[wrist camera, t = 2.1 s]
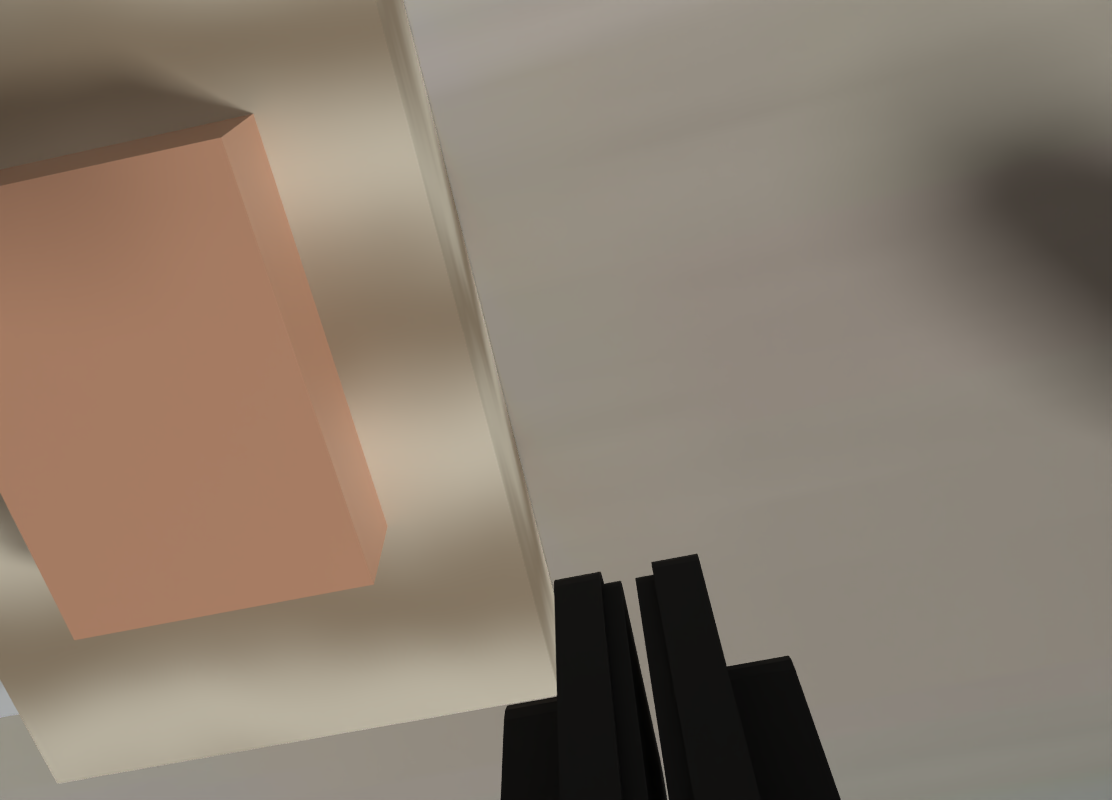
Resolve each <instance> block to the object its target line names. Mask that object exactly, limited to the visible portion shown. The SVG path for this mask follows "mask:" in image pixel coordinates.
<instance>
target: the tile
mask: <svg viewBox="0 0 1112 800" xmlns="http://www.w3.org/2000/svg"><path fill="white" fill-rule="evenodd" d="M0 493H1V495H2V497H3V499H4V501H5V503H6V505H7V507H8V509H9V511H10V513H11V515H12V517H13V519H14V521H15V523H16V525H17V527H18V529H19V531H20V533H21V535H22V537H23V539H24V541H25V543H26V545H27V547H28V549H29V551H30V553H31V555H32V557H33V559H34V561H35V563H36V565H37V567H38V569H39V571H40V573H41V575H42V577H43V579H44V581H45V583H46V585H47V587H48V589H49V591H50V593H51V595H52V597H53V599H54V601H55V603H56V605H57V607H58V609H59V611H60V613H61V615H62V617H63V619H64V621H65V623H66V625H67V627H68V629H69V631H70V633H71V635H72V637H73V639H74V640H79V639H84V638H90V637H95V636H100V635H106V634H111V633H116V632H122V631H127V630H132V629H138V628H143V627H149V626H154V625H159V624H165V623H170V622H175V621H181V620H186V619H191V618H197V617H202V616H208V615H213V614H218V613H224V612H229V611H234V610H240V609H245V608H250V607H256V606H261V605H267V604H272V603H277V602H283V601H288V600H293V599H299V598H304V597H309V596H315V595H320V594H326V593H331V592H336V591H342V590H347V589H352V588H358V587H363V586H369V585H374V582H375V578H376V574H377V569H378V565H379V561H380V557H381V552H382V548H383V544H384V540H385V535H386V531H387V527H388V526H387V523H386V520H385V517H384V514H383V511H382V508H381V505H380V502H379V498H378V495H377V492H376V489H375V486H374V483H373V480H372V477H371V474H370V471H369V468H368V465H367V462H366V459H365V455H364V452H363V449H362V446H361V443H360V440H359V437H358V434H357V431H356V428H355V425H354V422H353V419H352V416H351V412H350V409H349V406H348V403H347V400H346V397H345V394H344V391H343V388H342V385H341V382H340V379H339V376H338V373H337V369H336V366H335V363H334V360H333V357H332V354H331V351H330V348H329V345H328V342H327V339H326V336H325V333H324V329H323V326H322V323H321V320H320V317H319V314H318V311H317V308H316V305H315V302H314V299H313V296H312V293H311V290H310V286H309V283H308V280H307V277H306V274H305V271H304V268H303V265H302V262H301V259H300V256H299V253H298V250H297V247H296V243H295V240H294V237H293V234H292V231H291V228H290V225H289V222H288V219H287V216H286V213H285V210H284V207H283V204H282V200H281V197H280V194H279V191H278V188H277V185H276V182H275V179H274V176H273V173H272V170H271V167H270V164H269V160H268V157H267V154H266V151H265V148H264V145H263V142H262V139H261V136H260V133H259V130H258V127H257V124H256V121H255V117H254V114H249V115H245V116H240V117H236V118H231V119H226V120H222V121H217V122H213V123H208V124H204V125H199V126H195V127H190V128H186V129H181V130H177V131H172V132H168V133H163V134H158V135H154V136H149V137H145V138H140V139H136V140H131V141H127V142H122V143H118V144H113V145H109V146H104V147H100V148H95V149H91V150H86V151H81V152H77V153H72V154H68V155H63V156H59V157H54V158H50V159H45V160H41V161H36V162H32V163H27V164H23V165H18V166H14V167H9V168H4V169H0Z"/></svg>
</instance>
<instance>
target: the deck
mask: <svg viewBox="0 0 1112 800" xmlns="http://www.w3.org/2000/svg"><path fill="white" fill-rule="evenodd" d="M249 114H254V117H255V121H256V124H257V127H258V130H259V133H260V136H261V139H262V142H263V145H264V148H265V151H266V154H267V157H268V160H269V164H270V167H271V170H272V173H273V176H274V179H275V182H276V185H277V188H278V191H279V194H280V197H281V200H282V204H283V207H284V210H285V213H286V216H287V219H288V222H289V225H290V228H291V231H292V234H293V237H294V240H295V243H296V247H297V250H298V253H299V256H300V259H301V262H302V265H303V268H304V271H305V274H306V277H307V280H308V283H309V286H310V290H311V293H312V296H313V299H314V302H315V305H316V308H317V311H318V314H319V317H320V320H321V323H322V326H323V329H324V333H325V336H326V339H327V342H328V345H329V348H330V351H331V354H332V357H333V360H334V363H335V366H336V369H337V373H338V376H339V379H340V382H341V385H342V388H343V391H344V394H345V397H346V400H347V403H348V406H349V409H350V412H351V416H352V419H353V422H354V425H355V428H356V431H357V434H358V437H359V440H360V443H361V446H362V449H363V452H364V455H365V459H366V462H367V465H368V468H369V471H370V474H371V477H372V480H373V483H374V486H375V489H376V492H377V495H378V498H379V502H380V505H381V508H382V511H383V514H384V517H385V520H386V523H387V526H388V527H387V531H386V535H385V540H384V544H383V548H382V552H381V557H380V561H379V565H378V569H377V574H376V578H375V582H374V585H369V586H363V587H358V588H352V589H347V590H342V591H336V592H331V593H326V594H320V595H315V596H309V597H304V598H299V599H293V600H288V601H283V602H277V603H272V604H267V605H261V606H256V607H250V608H245V609H240V610H234V611H229V612H224V613H218V614H213V615H208V616H202V617H197V618H191V619H186V620H181V621H175V622H170V623H165V624H159V625H154V626H149V627H143V628H138V629H132V630H127V631H122V632H116V633H111V634H106V635H100V636H95V637H90V638H84V639H79V640H74V639H73V637H72V635H71V633H70V631H69V629H68V627H67V625H66V623H65V621H64V619H63V617H62V615H61V613H60V611H59V609H58V607H57V605H56V603H55V601H54V599H53V597H52V595H51V593H50V591H49V589H48V587H47V585H46V583H45V581H44V579H43V577H42V575H41V573H40V571H39V569H38V567H37V565H36V563H35V561H34V559H33V557H32V555H31V553H30V551H29V549H28V547H27V545H26V543H25V541H24V539H23V537H22V535H21V533H20V531H19V529H18V527H17V525H16V523H15V521H14V519H13V517H12V515H11V513H10V511H9V509H8V507H7V505H6V503H5V501H4V499H3V497H2V495H1V493H0V680H1V682H2V684H3V686H4V688H5V689H6V691H7V693H8V695H9V697H10V698H11V700H12V702H13V704H14V706H15V708H16V709H17V711H18V713H19V715H20V717H21V718H22V720H23V722H24V724H25V726H26V727H27V729H28V731H29V733H30V735H31V737H32V738H33V740H34V742H35V744H36V746H37V747H38V749H39V751H40V753H41V755H42V756H43V758H44V760H45V762H46V764H47V766H48V767H49V769H50V771H51V773H52V775H53V776H54V778H55V780H56V782H57V784H59V783H64V782H70V781H76V780H81V779H87V778H93V777H98V776H104V775H110V774H115V773H121V772H127V771H132V770H138V769H144V768H149V767H155V766H161V765H166V764H172V763H178V762H183V761H189V760H195V759H200V758H206V757H212V756H217V755H223V754H229V753H234V752H240V751H246V750H251V749H257V748H263V747H268V746H274V745H280V744H285V743H291V742H297V741H302V740H308V739H314V738H319V737H325V736H331V735H336V734H342V733H348V732H353V731H359V730H365V729H370V728H376V727H382V726H387V725H393V724H399V723H404V722H410V721H416V720H421V719H427V718H433V717H438V716H444V715H450V714H455V713H461V712H467V711H472V710H478V709H484V708H489V707H495V706H501V705H506V704H512V703H518V702H523V701H529V700H535V699H540V698H546V697H552V696H557V681H556V643H555V605H554V592H553V589H552V585H551V581H550V577H549V573H548V569H547V565H546V561H545V557H544V553H543V549H542V545H541V541H540V537H539V533H538V529H537V526H536V522H535V518H534V514H533V510H532V506H531V502H530V498H529V494H528V490H527V486H526V482H525V478H524V474H523V470H522V466H521V463H520V459H519V455H518V451H517V447H516V443H515V439H514V435H513V431H512V427H511V423H510V419H509V415H508V411H507V407H506V403H505V400H504V396H503V392H502V388H501V384H500V380H499V376H498V372H497V368H496V364H495V360H494V356H493V352H492V348H491V344H490V340H489V337H488V333H487V329H486V325H485V321H484V317H483V313H482V309H481V305H480V301H479V297H478V293H477V289H476V285H475V281H474V277H473V274H472V270H471V266H470V262H469V258H468V254H467V250H466V246H465V242H464V238H463V234H462V230H461V226H460V222H459V218H458V214H457V211H456V207H455V203H454V199H453V195H452V191H451V187H450V183H449V179H448V175H447V171H446V167H445V163H444V159H443V155H442V151H441V148H440V144H439V140H438V136H437V132H436V128H435V124H434V120H433V116H432V112H431V108H430V104H429V100H428V96H427V92H426V88H425V85H424V81H423V77H422V73H421V69H420V65H419V61H418V57H417V53H416V49H415V45H414V41H413V37H412V33H411V29H410V25H409V22H408V18H407V14H406V10H405V6H404V2H403V0H0V169H4V168H9V167H14V166H18V165H23V164H27V163H32V162H36V161H41V160H45V159H50V158H54V157H59V156H63V155H68V154H72V153H77V152H81V151H86V150H91V149H95V148H100V147H104V146H109V145H113V144H118V143H122V142H127V141H131V140H136V139H140V138H145V137H149V136H154V135H158V134H163V133H168V132H172V131H177V130H181V129H186V128H190V127H195V126H199V125H204V124H208V123H213V122H217V121H222V120H226V119H231V118H236V117H240V116H245V115H249Z"/></svg>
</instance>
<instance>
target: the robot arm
mask: <svg viewBox="0 0 1112 800" xmlns="http://www.w3.org/2000/svg"><path fill="white" fill-rule="evenodd" d="M651 563H652V569H653V574H654V575H649V576H644V577H639V578H636V586H637V592H638V599H639V605H640V612H641V618H642V625H643V632H644V638H645V645H646V651H647V658H648V664H649V671H650V678H651V684H652V691H653V697H654V704H655V710H656V717H657V724H658V730H659V737H660V743H661V750H662V757H663V763H664V770H665V776H666V783H667V789H668V796H669V800H841V799H840V796H839V793H838V791H837V788H836V785H835V782H834V779H833V776H832V773H831V771H830V768H829V765H828V762H827V759H826V756H825V753H824V751H823V748H822V745H821V742H820V739H819V736H818V733H817V730H816V728H815V725H814V722H813V719H812V716H811V713H810V710H809V708H808V705H807V702H806V699H805V696H804V693H803V690H802V688H801V685H800V682H799V679H798V676H797V673H796V670H795V668H794V665H793V663H792V660H791V658H790V657H789V656H784V657H778V658H773V659H767V660H761V661H756V662H750V663H744V664H739V665H733V666H728V667H727V666H726V662H725V658H724V654H723V650H722V647H721V643H720V639H719V635H718V631H717V627H716V623H715V619H714V615H713V612H712V608H711V604H710V600H709V596H708V592H707V588H706V584H705V581H704V577H703V573H702V569H701V565H700V561H699V558H698V554H693V555H688V556H682V557H677V558H672V559H666V560H661V561H656V562H651ZM554 605H555V643H556V681H557V697H553V698H547V699H542V700H536V701H531V702H525V703H519V704H514V705H508V706H507V708H506V710H505V716H504V734H503V758H502V782H501V800H667V795H666V789H665V783H664V777H663V772H662V766H661V761H660V756H659V752H658V747H657V743H656V738H655V733H654V729H653V724H652V720H651V715H650V710H649V706H648V701H647V697H646V692H645V688H644V683H643V678H642V674H641V669H640V665H639V660H638V655H637V651H636V646H635V642H634V637H633V632H632V628H631V623H630V619H629V614H628V610H627V605H626V600H625V596H624V591H623V587H622V583H621V581H617V582H612V583H606V584H604V582H603V578H602V575H601V572H596V573H591V574H585V575H580V576H575V577H569V578H564V579H559V580H555V581H554Z"/></svg>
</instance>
